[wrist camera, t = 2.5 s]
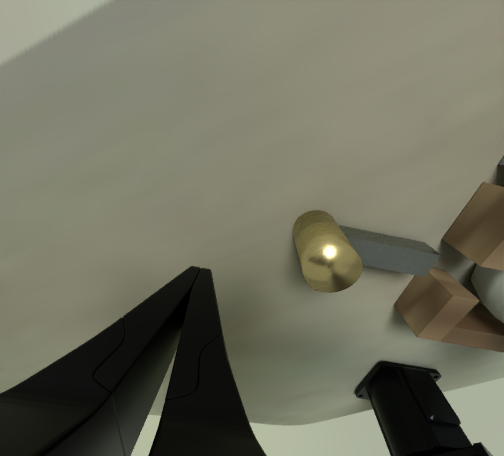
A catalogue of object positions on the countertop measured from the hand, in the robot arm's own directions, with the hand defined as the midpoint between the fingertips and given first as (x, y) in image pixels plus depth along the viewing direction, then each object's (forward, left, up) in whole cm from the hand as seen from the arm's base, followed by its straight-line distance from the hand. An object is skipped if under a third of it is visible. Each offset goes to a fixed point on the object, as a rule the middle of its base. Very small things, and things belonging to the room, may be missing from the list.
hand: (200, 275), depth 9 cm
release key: (0, -9, -6) cm, 11 cm away
